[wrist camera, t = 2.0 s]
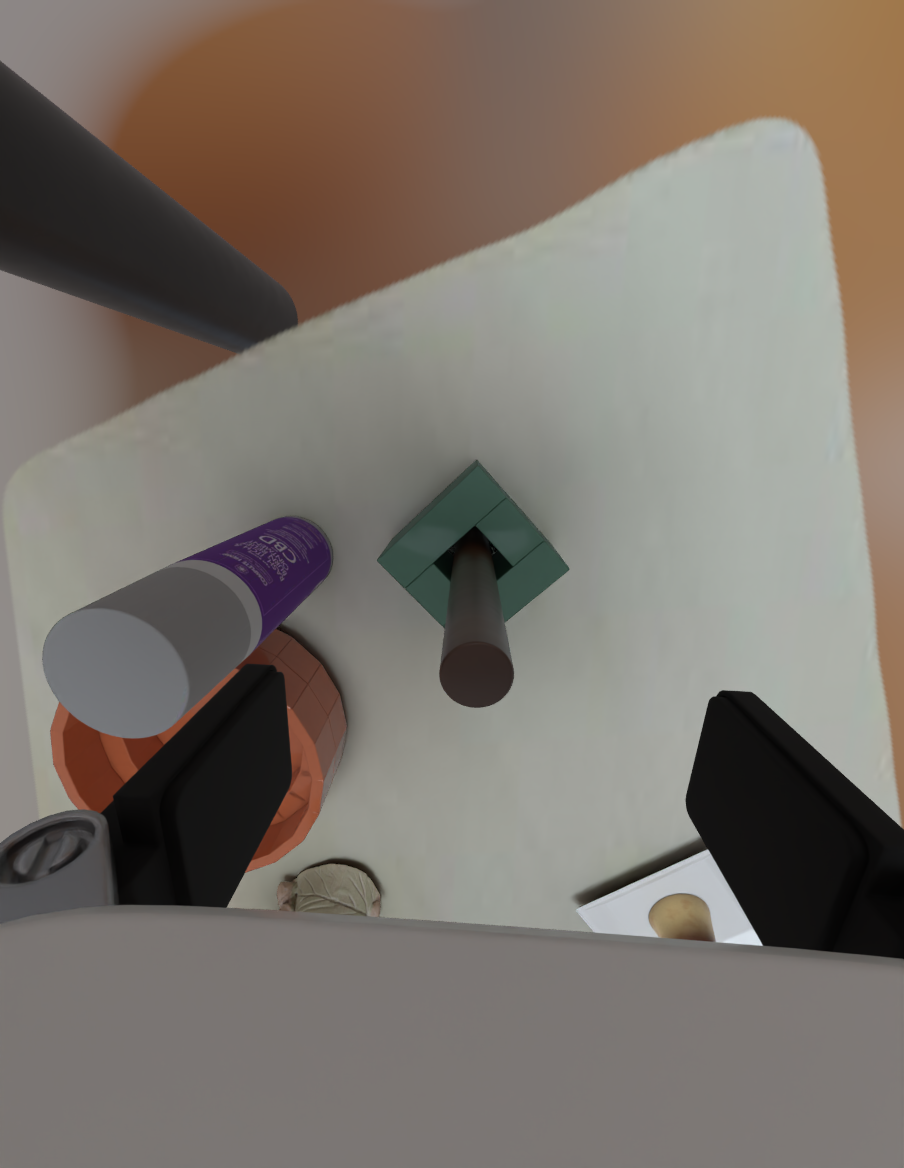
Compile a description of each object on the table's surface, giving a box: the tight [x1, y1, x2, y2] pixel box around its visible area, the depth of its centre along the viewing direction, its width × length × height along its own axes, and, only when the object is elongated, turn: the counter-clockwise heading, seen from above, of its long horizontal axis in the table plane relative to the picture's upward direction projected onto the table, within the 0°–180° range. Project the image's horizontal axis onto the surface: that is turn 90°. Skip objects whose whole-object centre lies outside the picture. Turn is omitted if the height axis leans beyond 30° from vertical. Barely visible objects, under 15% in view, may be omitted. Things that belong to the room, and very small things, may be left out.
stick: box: [439, 526, 514, 708], centre depth 20 cm, size 2×2×16 cm
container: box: [42, 516, 333, 738], centre depth 21 cm, size 5×5×15 cm
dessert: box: [576, 849, 763, 946], centre depth 34 cm, size 12×12×5 cm
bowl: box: [50, 629, 347, 873], centre depth 29 cm, size 15×15×6 cm
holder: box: [377, 460, 569, 628], centre depth 25 cm, size 7×7×5 cm
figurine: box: [277, 864, 381, 917], centre depth 27 cm, size 9×8×20 cm
